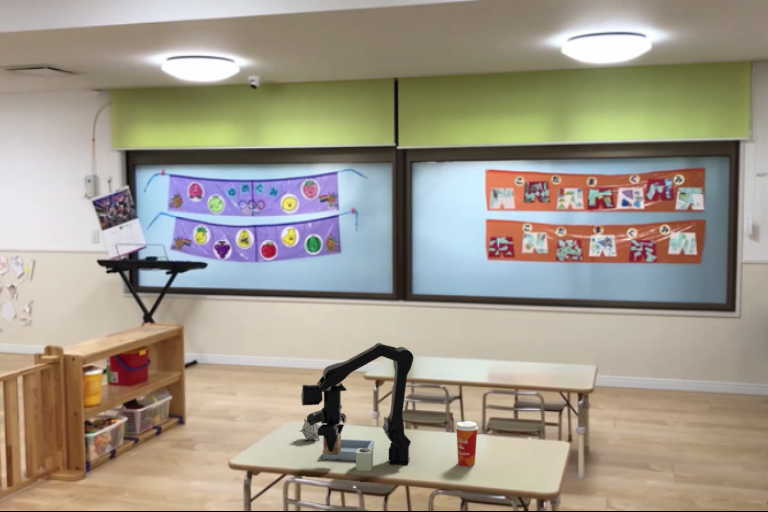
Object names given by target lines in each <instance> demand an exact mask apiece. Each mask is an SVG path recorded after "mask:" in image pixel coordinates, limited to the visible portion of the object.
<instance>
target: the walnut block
mask: <svg viewBox="0 0 768 512" xmlns="http://www.w3.org/2000/svg"><path fill="white" fill-rule="evenodd" d="M322 437H323V450H324V454H328V455H338V454H339V453H340V451H341V439H342V432H341V433H339V434H338V437H337V440H336V443H335V446H334V448H333V451H332V452H329V449H328V446H327V442H326V439H325V437H324V436H322Z"/></svg>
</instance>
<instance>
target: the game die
mask: <svg viewBox="0 0 768 512" xmlns="http://www.w3.org/2000/svg"><path fill="white" fill-rule="evenodd" d="M303 420H304V424H303V425H302V428H301V430H299V432H302V434H303V436H304V438H305V442H307V441H308V440H318V441H320V436H318V428H319V427H320V426H321V423H320V422H319V423H316V424H313V425H312V426H310V425H309V423H308V422H307V419H305V418H304V419H303Z"/></svg>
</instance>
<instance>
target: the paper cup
mask: <svg viewBox="0 0 768 512" xmlns="http://www.w3.org/2000/svg"><path fill="white" fill-rule="evenodd" d="M455 429H456V444H457V445H456V446H457V461H458V462H457V463H458V466H461V467H464V468H465V467H466V468H469V467H474V466H475V464H476V454H477V453H476V451H477V450H476V449H477V448H476V447H477V438H478V437H477V435H478V434H477V433H478V429H479V427H478V424H477V423H476V422H475V421H469V420H468V421H467V420H466V421H459V422H458V421H457V423H456V425H455ZM473 465H474V466H473Z"/></svg>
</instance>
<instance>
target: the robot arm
mask: <svg viewBox="0 0 768 512" xmlns="http://www.w3.org/2000/svg"><path fill="white" fill-rule="evenodd" d="M381 357H382V358H386V359H388V360H392V362H393V369H394V380H393V387H392V396H391V403H390V404H391V405H390V412H389V414H388V416H387V417H386V416H384V417H383V425H382V429H383V430H384V434H385V436H386V437H387V438H388V440H389V441H390V442H391V443H390V445H389V447H388V461H389V464H390V465H409V462H410V460H411V457H410V445H411V444H412V443H411V442H412V441H411V440H410V438H409V437H408V436H407V435H406V433H405V424H404V423H405V422H404V419H403V418H404V417H403V415H404V414H403V413H404V405H405V395H406V387H407V379H408V374H409V373H410V371H411V369H412V367H413V362H414V355H413V353H412V352H411V351H410V350H409V349H408V348H407V347H404V346H398V347H396V346H392V345H387V344H383V343H381V342H377V343H375V344H374V345H372V346H371V347H369V348H367V349H366V350H364V351H362V352H360V353H357V355H355V356H352V357H351V358H349V359H346V360H345V361H341V362H336V363H333V364H331V365H328V366H326V367H325V368H324V369H323V371H322V376H321V377H320V379H319V380H318V381H317V383H316V384H302V385H301V387H302V389H301V398H300V399H301V405H302V406H316V405H320V404H321V403H322V402H323V407H322V408H321V409H320V410H317V411H314V412H312V413H309V414H308V415H307V416H306V420H307V422H308V423H309V425H310V426H312V425H313V424H316V423H319V424H320V427H319V428H318V436H319V437H320V436H321V437H325V439H326V442H327V446H328V449H329V452H332V451H333V448H334V446H335V443H336V440H337V437H338V434H339V433H341V434H342V432H343V429H344V427H345V423H346V422H347V415H346V414H345V413H344V412H343V413H342V408H343V405H342V404H341V403H342V401H341V398H342V397H341V394H342V393H341V392H346V391H347V388H346V386H344V385H343V383H342V382H343V381H344V380H345V379H347V377H349V375H350V374H352V373H353V372H355V371H357V370H359V369H360V368H362V367H364V366H366V365H368V364H369V363H371V362H373V361H375V360H377V359H379V358H381ZM341 422H342V424H341Z"/></svg>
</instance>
